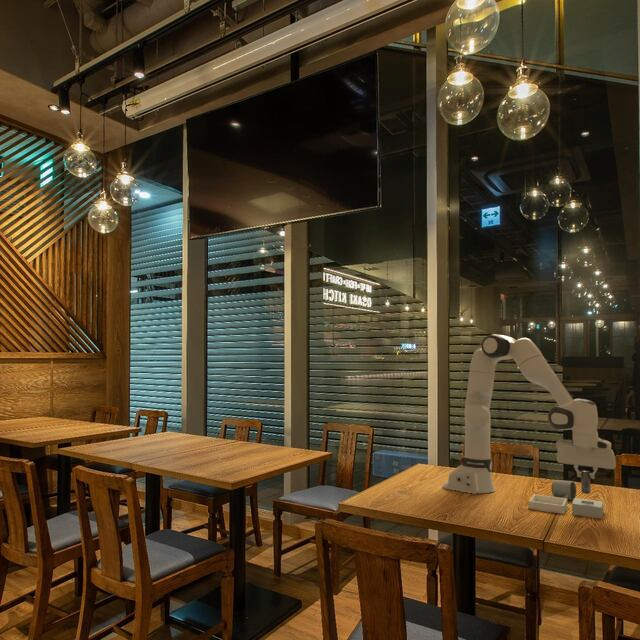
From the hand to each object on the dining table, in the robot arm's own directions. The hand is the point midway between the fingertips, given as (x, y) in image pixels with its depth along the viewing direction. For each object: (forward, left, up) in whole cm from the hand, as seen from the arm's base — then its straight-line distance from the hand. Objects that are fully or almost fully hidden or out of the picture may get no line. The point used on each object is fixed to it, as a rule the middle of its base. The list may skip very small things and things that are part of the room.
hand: (585, 477), depth 199 cm
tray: (-14, 0, -13) cm, 19 cm away
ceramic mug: (-10, +18, -14) cm, 25 cm away
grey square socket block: (0, 0, -13) cm, 13 cm away
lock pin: (0, 0, -6) cm, 6 cm away
